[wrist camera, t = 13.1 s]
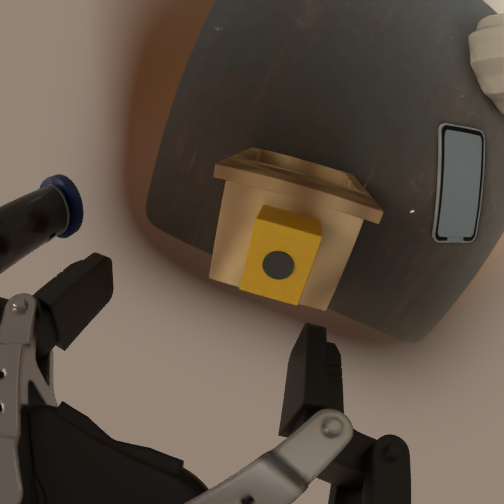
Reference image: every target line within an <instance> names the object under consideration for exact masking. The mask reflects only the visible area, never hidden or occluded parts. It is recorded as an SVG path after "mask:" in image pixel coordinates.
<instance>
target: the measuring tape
mask: <svg viewBox="0 0 504 504" xmlns="http://www.w3.org/2000/svg"><path fill="white" fill-rule="evenodd" d="M322 238H323V237H322V228H321V221H320V220H317V219H314V218H310V217H307V216H304V215H300V214H297V213H293V212H289V211H286V210H282V209H279V208H275V207H271V206H268V205H263V206H262V207H261V209H260V211H259V213H258V215H257V217H256V219H255V223H254V227H253V231H252V236H251V240H250V244H249V248H248V253H247V257H246V261H245V266H244V270H243V274H242V278H241V283H240V287H239V289H240V290H243V291H247V292H250V293H254V294H257V295H261V296H265V297H268V298H271V299H275V300H279V301H282V302H286V303H290V304H294V305H298V303H299V300H300V298H301V295H302V293H303V290H304V287H305V285H306V282H307V279H308V277H309V274H310V271H311V269H312V266H313V263H314V260H315V258H316V255H317V252H318V249H319V246H320V243H321V241H322Z"/></svg>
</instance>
